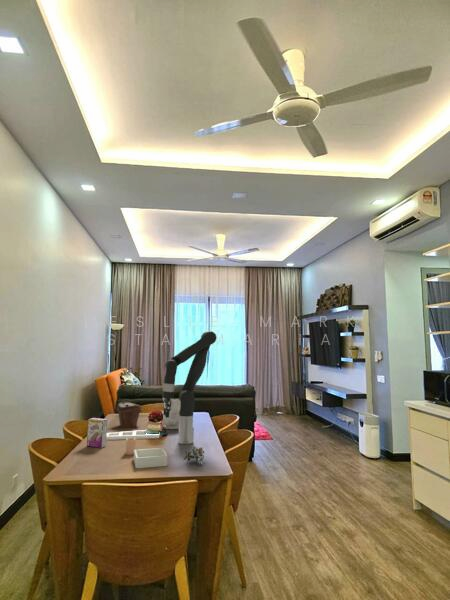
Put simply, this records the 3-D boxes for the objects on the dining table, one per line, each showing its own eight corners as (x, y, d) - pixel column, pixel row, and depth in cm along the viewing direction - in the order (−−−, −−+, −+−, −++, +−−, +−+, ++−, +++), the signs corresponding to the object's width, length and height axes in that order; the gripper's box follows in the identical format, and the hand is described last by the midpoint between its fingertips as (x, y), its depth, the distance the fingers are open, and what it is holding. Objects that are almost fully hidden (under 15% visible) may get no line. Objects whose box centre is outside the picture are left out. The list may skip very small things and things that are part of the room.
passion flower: (200, 475, 193) (203, 460, 187) (180, 471, 193) (182, 455, 187) (204, 458, 203) (207, 442, 197) (185, 453, 203) (187, 438, 197)
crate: (162, 457, 206) (163, 447, 207) (167, 465, 191) (167, 455, 192) (133, 459, 201) (133, 449, 202) (135, 468, 186) (136, 458, 187)
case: (138, 428, 279) (139, 403, 281) (112, 427, 279) (113, 403, 282) (144, 423, 296) (145, 401, 299) (119, 423, 297) (120, 400, 299)
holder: (89, 441, 240) (89, 437, 241) (93, 434, 258) (93, 431, 258) (159, 438, 249) (159, 434, 250) (158, 432, 267) (158, 429, 267)
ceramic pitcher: (175, 425, 297) (174, 393, 301) (193, 426, 286) (192, 393, 290) (155, 430, 279) (155, 396, 284) (174, 431, 268) (173, 396, 273)
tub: (134, 451, 215) (134, 437, 216) (134, 454, 211) (135, 439, 212) (125, 452, 214) (126, 438, 215) (126, 454, 209) (126, 440, 210)
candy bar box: (86, 446, 226) (87, 419, 228) (91, 444, 230) (93, 417, 232) (101, 448, 222) (102, 420, 224) (106, 446, 227) (107, 419, 229)
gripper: (176, 392, 233) (173, 418, 231) (172, 389, 247) (169, 414, 244) (164, 391, 231) (161, 418, 228) (161, 389, 244) (158, 414, 242)
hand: (166, 416), depth 236 cm, fingers open, 8 cm apart
